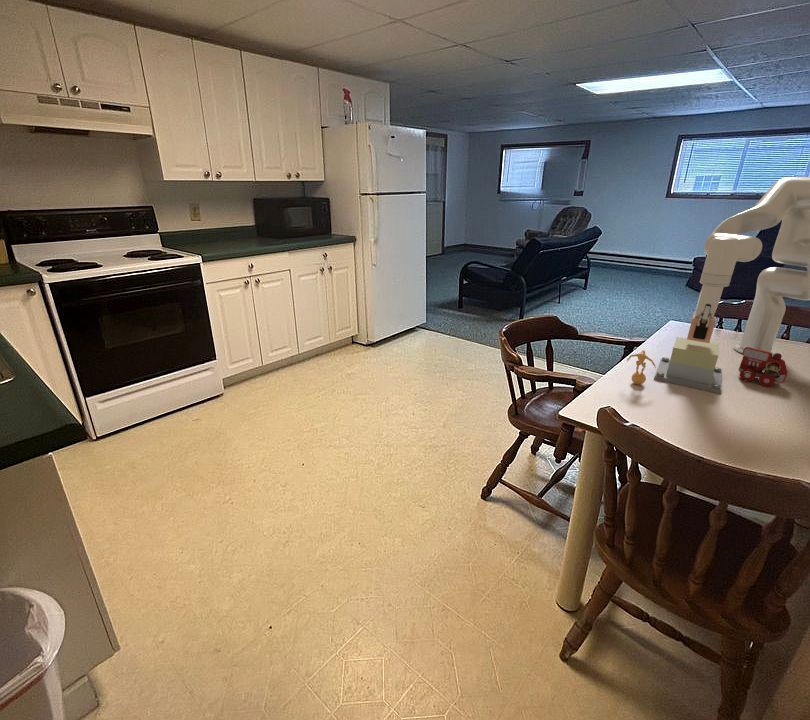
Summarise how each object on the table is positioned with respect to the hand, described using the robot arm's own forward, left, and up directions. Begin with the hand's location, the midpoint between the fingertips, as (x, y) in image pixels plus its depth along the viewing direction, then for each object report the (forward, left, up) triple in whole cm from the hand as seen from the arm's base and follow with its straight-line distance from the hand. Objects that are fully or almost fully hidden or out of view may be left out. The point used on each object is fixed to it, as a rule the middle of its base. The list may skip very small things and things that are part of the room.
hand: (699, 335), depth 139 cm
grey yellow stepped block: (0, 0, -14) cm, 14 cm away
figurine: (+17, -13, -15) cm, 26 cm away
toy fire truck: (-9, +19, -15) cm, 26 cm away
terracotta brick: (0, 0, -1) cm, 1 cm away
